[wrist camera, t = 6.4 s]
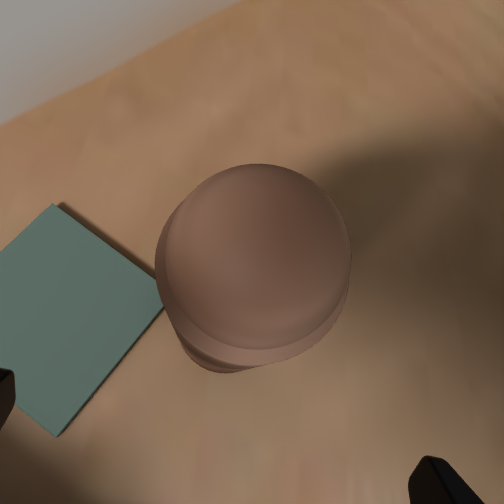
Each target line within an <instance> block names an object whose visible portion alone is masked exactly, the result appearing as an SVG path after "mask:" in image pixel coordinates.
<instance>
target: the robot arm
mask: <svg viewBox="0 0 504 504" xmlns="http://www.w3.org/2000/svg"><path fill="white" fill-rule="evenodd" d="M15 400H16V390H15V374H14V372H13V371H12V370H10V369H6V368H1V367H0V430H1V428H2V427H3V425H4V423H5V421H6V420H7V418H8V416H9V414H10V412H11V411H12V409H13V407H14V404H15ZM408 491H409V498H410V504H484V503H483V501H482V500H481V499H480V498H479V497H478V496H477V495H476V494H475V492H474V491H473V490H472V489H471V488H470V487H469V486H468V485H467V484H466V482H465V481H464V480H463V479H462V478H461V477H460V476H459V475H458V474H457V472H456V471H455V470H454V469H453V468H452V467H451V466H450V465H449V463H448V462H446V461H445V460H444V459H442V458H438V457H433V456H424V457H423V458H422V459H421V460H420V462H419V463H418V465H417V466H416V468H415V470H414V471H413V473H412V474H411V476H410V478H409V482H408Z"/></svg>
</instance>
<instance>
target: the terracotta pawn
mask: <svg viewBox="0 0 504 504" xmlns="http://www.w3.org/2000/svg"><path fill="white" fill-rule="evenodd" d="M350 268H351V245H350V240H349V235H348V231H347V228H346V225H345V222H344V220H343V218H342V216H341V213H340V211H339V210H338V208H337V207H336V205H335V204H334V202H333V201H332V200H331V198H330V197H329V196H328V195H327V194H326V193H325V192H324V191H323V190H322V189H321V188H320V187H319V186H318V185H316V184H315V183H314V182H313V181H311V180H310V179H308V178H306V177H305V176H303V175H301V174H299V173H297V172H295V171H293V170H290V169H287V168H284V167H280V166H275V165H269V164H247V165H240V166H236V167H232V168H229V169H227V170H224V171H222V172H219V173H217V174H215V175H213V176H211V177H210V178H208V179H206V180H205V181H204V182H202V183H201V184H200V185H198V186H197V187H196V188H195V189H194V190H193V191H192V192H191V193H190V194H189V195H188V196H187V198H186V199H185V200H184V201H183V202H182V203H181V204H180V205H179V206H178V207H177V208H176V209H175V210H174V212H173V213H172V214H171V215H170V217H169V219H168V220H167V222H166V224H165V225H164V227H163V230H162V232H161V235H160V237H159V240H158V244H157V248H156V255H155V278H156V284H157V289H158V292H159V296H160V299H161V301H162V304H163V306H164V308H165V310H166V312H167V314H168V317H169V319H170V321H171V323H172V325H173V328H174V330H175V332H176V334H177V336H178V338H179V341H180V343H181V345H182V347H183V349H184V350H185V352H186V353H187V355H188V356H189V357H190V358H191V359H192V360H193V361H194V362H195V363H196V364H198V365H199V366H201V367H203V368H205V369H207V370H210V371H213V372H218V373H234V372H238V371H242V370H246V369H250V368H254V367H259V366H263V365H267V364H271V363H275V362H279V361H283V360H287V359H289V358H292V357H294V356H297V355H299V354H301V353H302V352H304V351H306V350H307V349H309V348H311V347H312V346H313V345H314V344H316V343H317V342H318V341H320V340H321V339H322V337H323V336H324V335H325V334H326V333H327V332H328V331H329V330H330V328H331V327H332V326H333V324H334V323H335V322H336V320H337V318H338V316H339V314H340V312H341V310H342V308H343V305H344V302H345V299H346V295H347V290H348V284H349V274H350Z"/></svg>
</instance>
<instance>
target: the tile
mask: <svg viewBox="0 0 504 504" xmlns="http://www.w3.org/2000/svg"><path fill="white" fill-rule="evenodd" d="M163 308H164V306H163V304H162V301H161V299H160V296H159V292H158V289H157V284H156V280H155V279H153V278H152V277H151V276H149V275H148V274H147V273H145V272H144V271H143V270H141V269H140V268H139V267H137V266H136V265H135V264H133V263H132V262H131V261H129V260H128V259H127V258H125V257H124V256H122V255H121V254H120V253H118V252H117V251H116V250H114V249H113V248H112V247H110V246H109V245H108V244H106V243H105V242H104V241H102V240H101V239H100V238H98V237H97V236H96V235H94V234H93V233H92V232H90V231H89V230H88V229H86V228H85V227H84V226H82V225H81V224H80V223H78V222H77V221H76V220H74V219H73V218H72V217H70V216H69V215H68V214H66V213H65V212H64V211H62V210H61V209H60V208H58V207H57V206H56V205H54V204H53V203H52V204H51V205H50V206H49V207H48V208H47V209H46V210H45V211H44V212H43V213H41V214H40V215H39V216H38V217H37V218H36V219H35V220H34V221H33V222H32V223H31V224H30V225H29V226H28V227H27V228H26V229H24V230H23V231H22V232H21V233H20V234H19V235H18V236H17V237H16V238H15V239H14V240H13V241H12V242H11V243H10V244H9V245H8V246H6V247H5V248H4V249H3V250H2V251H1V252H0V367H1V368H6V369H10V370H12V371H13V372H14V374H15V390H16V400H15V405H16V406H17V407H18V408H20V409H21V410H22V411H23V412H25V413H26V414H27V415H28V416H29V417H31V418H32V419H33V420H34V421H36V422H37V423H38V424H39V425H41V426H42V427H43V428H44V429H45V430H47V431H48V432H49V433H50V434H52V435H53V436H54V437H55V438H56V437H59V436H60V434H61V433H62V432H63V431H64V429H65V428H66V427H67V426H68V424H69V423H70V422H71V421H72V420H73V418H74V417H75V416H76V415H77V413H78V412H79V411H80V410H81V409H82V407H83V406H84V405H85V404H86V402H87V401H88V400H89V399H90V398H91V396H92V395H93V394H94V393H95V391H96V390H97V389H98V388H99V387H100V385H101V384H102V383H103V382H104V380H105V379H106V378H107V377H108V375H109V374H110V373H111V372H112V371H113V369H114V368H115V367H116V366H117V364H118V363H119V362H120V361H121V360H122V358H123V357H124V356H125V355H126V353H127V352H128V351H129V350H130V349H131V347H132V346H133V345H134V344H135V342H136V341H137V340H138V339H139V337H140V336H141V335H142V334H143V333H144V331H145V330H146V329H147V328H148V326H149V325H150V324H151V323H152V322H153V320H154V319H155V318H156V317H157V315H158V314H159V313H160V312H161V311H162V309H163Z"/></svg>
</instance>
